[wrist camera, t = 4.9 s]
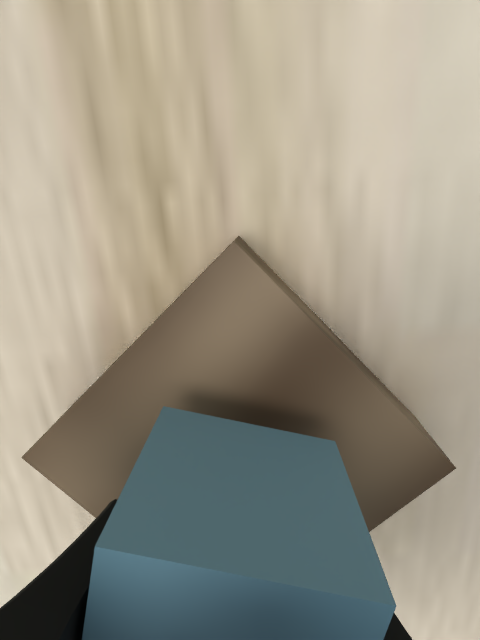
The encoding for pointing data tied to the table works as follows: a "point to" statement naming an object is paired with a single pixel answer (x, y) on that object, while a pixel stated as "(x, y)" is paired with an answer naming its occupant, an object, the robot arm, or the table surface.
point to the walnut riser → (242, 392)
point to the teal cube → (236, 541)
